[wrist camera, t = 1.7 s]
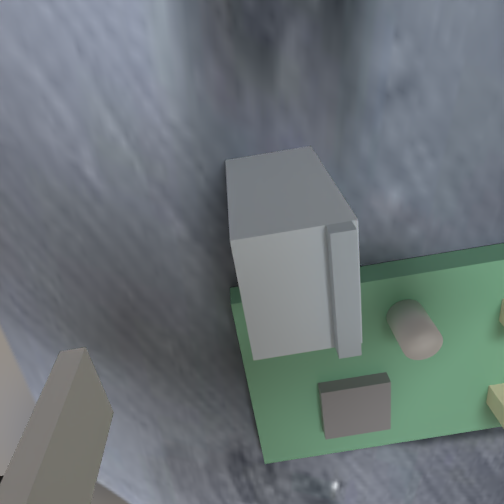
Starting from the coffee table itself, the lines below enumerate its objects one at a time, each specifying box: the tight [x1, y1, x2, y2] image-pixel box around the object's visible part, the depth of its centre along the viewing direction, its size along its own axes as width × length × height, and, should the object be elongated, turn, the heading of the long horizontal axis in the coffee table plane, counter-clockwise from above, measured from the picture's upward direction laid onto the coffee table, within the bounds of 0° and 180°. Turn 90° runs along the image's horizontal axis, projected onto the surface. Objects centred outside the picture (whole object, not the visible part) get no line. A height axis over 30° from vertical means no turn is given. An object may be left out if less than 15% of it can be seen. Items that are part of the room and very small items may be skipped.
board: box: [230, 243, 504, 464], centre depth 25 cm, size 13×24×6 cm, turn 99°
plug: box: [225, 146, 363, 360], centre depth 18 cm, size 5×4×9 cm
